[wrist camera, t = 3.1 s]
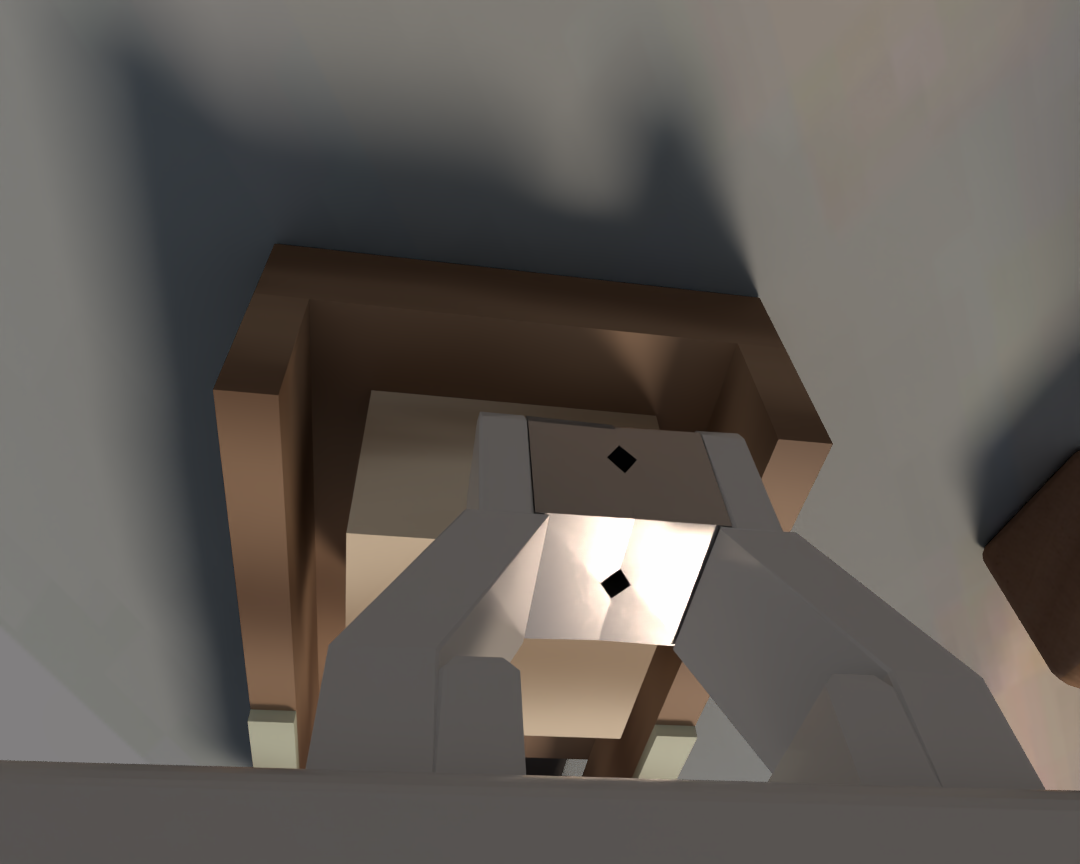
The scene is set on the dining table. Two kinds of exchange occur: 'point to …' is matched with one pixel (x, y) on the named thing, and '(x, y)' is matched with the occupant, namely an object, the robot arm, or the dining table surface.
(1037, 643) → the wooden block
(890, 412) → the dining table surface
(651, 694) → the walled channel
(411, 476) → the birch block
